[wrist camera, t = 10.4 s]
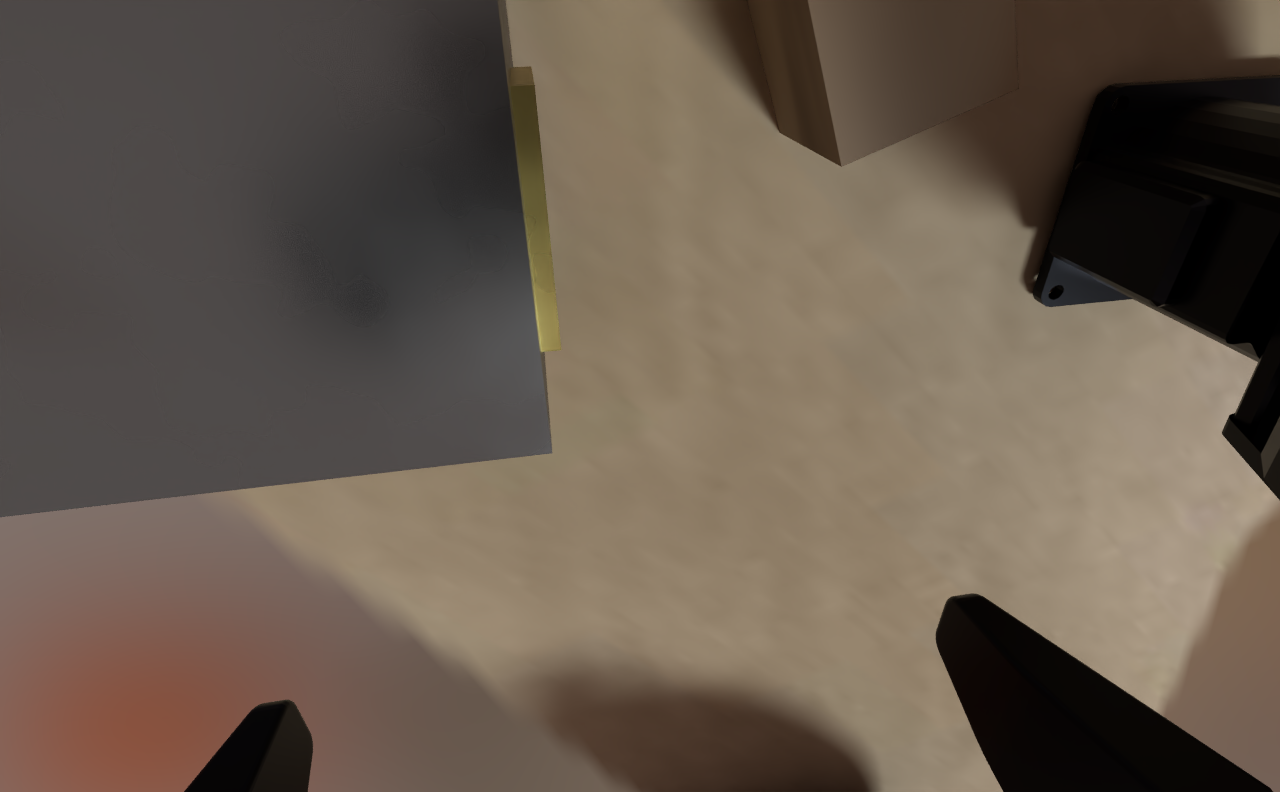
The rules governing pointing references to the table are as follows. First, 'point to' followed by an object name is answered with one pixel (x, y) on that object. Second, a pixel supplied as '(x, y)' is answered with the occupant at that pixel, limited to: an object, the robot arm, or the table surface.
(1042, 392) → the table surface
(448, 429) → the block
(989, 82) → the brown cube
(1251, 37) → the table surface
